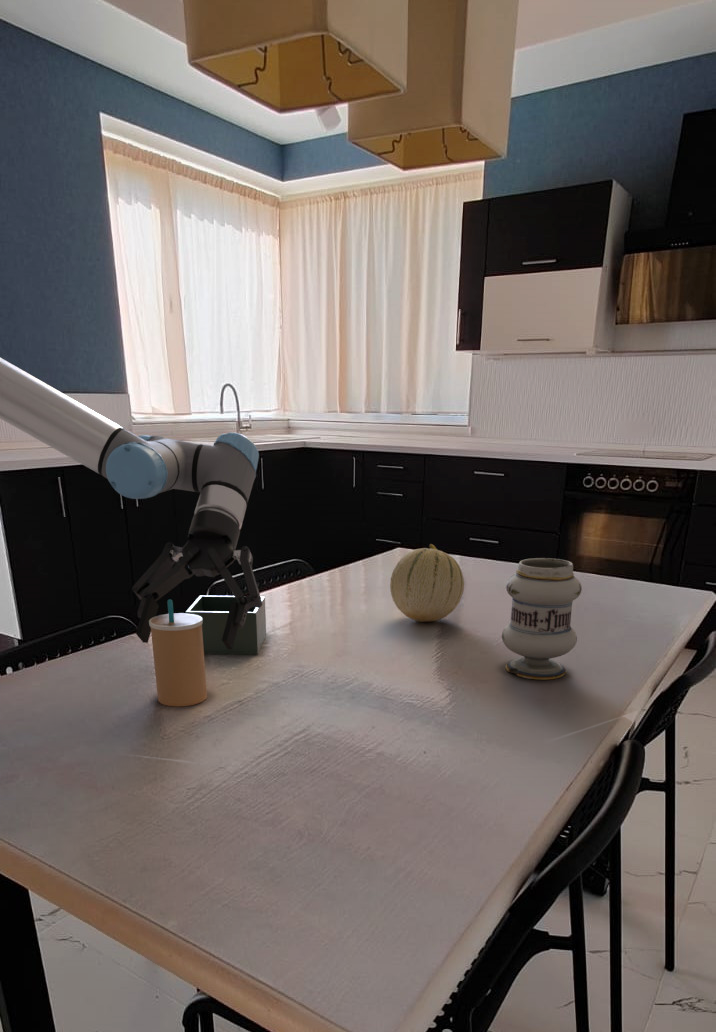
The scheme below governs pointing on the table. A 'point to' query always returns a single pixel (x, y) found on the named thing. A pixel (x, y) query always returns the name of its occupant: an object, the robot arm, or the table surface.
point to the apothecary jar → (541, 617)
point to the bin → (215, 621)
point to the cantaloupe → (427, 584)
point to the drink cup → (178, 658)
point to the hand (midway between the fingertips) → (183, 641)
